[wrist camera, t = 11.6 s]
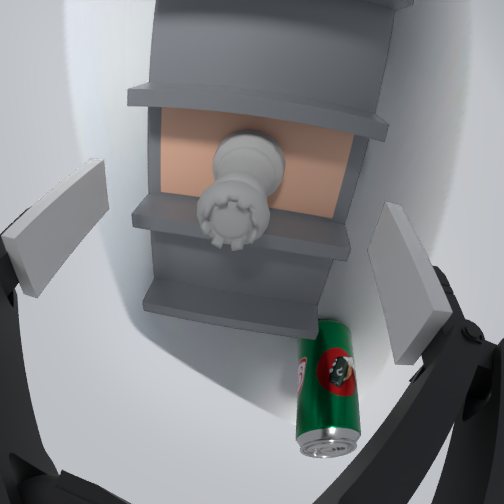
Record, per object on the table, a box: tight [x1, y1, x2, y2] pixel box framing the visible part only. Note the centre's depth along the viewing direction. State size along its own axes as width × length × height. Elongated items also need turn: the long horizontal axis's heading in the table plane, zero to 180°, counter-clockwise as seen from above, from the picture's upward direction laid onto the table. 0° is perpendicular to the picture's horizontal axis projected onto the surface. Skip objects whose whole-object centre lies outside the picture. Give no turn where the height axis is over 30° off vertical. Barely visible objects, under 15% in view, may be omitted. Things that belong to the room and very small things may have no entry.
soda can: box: [296, 320, 361, 458], centre depth 25 cm, size 5×5×12 cm
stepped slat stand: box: [127, 0, 414, 340], centre depth 19 cm, size 25×14×4 cm, turn 173°
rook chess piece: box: [197, 129, 286, 251], centre depth 16 cm, size 4×4×8 cm
